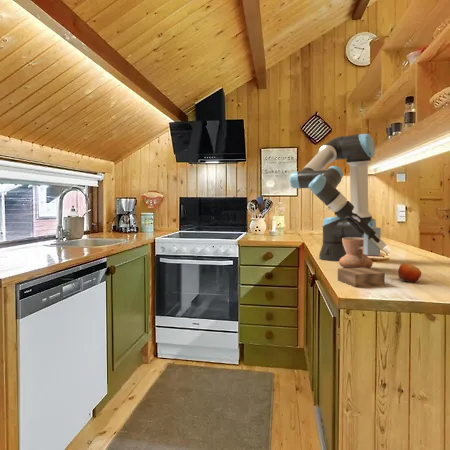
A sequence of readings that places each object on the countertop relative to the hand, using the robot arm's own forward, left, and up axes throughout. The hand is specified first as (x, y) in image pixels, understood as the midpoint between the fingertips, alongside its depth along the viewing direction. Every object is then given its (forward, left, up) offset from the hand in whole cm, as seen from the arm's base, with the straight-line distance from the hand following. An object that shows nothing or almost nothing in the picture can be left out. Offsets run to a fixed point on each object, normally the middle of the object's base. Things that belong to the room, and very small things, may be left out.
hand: (381, 246), depth 147 cm
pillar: (+4, -1, -3) cm, 5 cm away
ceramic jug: (+1, -18, -13) cm, 22 cm away
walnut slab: (+14, +9, -13) cm, 21 cm away
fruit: (-6, +9, -13) cm, 17 cm away
